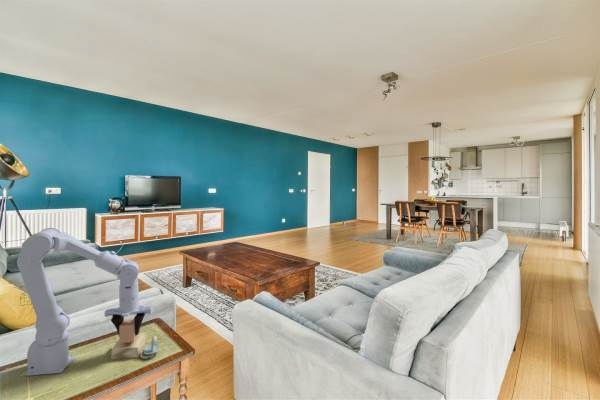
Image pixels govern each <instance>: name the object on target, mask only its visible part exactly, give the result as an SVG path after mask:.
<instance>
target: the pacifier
mask: <svg viewBox="0 0 600 400" xmlns="http://www.w3.org/2000/svg"><path fill="white" fill-rule="evenodd" d="M144 347H145V348H143V349H142V351H141V352H140V354H139V357H140V358H141V359H144V360H147V359H150V358H151V357H154V356H155V355H156V354H158V353H159V352H160V350H159V349H160V343H159V342H158V338H157V335H153V336H152V338H151V342H149V343H148V344H146V346H144Z"/></svg>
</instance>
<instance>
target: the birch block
mask: <svg viewBox="0 0 600 400" xmlns="http://www.w3.org/2000/svg"><path fill="white" fill-rule="evenodd" d="M145 345H146V334H138V336H137V338H136V340H135V341H134V342H126V343H119V339H118V340H117V341H116V343H115V344H114V346H113V347H112V348H111V360H120V359H133V358H138V357H140V353H141V351H142V350H144V347H145Z"/></svg>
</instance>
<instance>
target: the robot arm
mask: <svg viewBox="0 0 600 400" xmlns="http://www.w3.org/2000/svg"><path fill="white" fill-rule="evenodd" d="M51 250H53V253H57V252H65V251H68V252H71V253H74V255H75V254H76V255H79V256H81V257H84V258H86V259H89V260H91V261H92V262H94V264H95V267H97V268H99V269H101V270H103V271H104V272H108V273H109V274H111V275H115V276H117V278H118V280H119V285H118V286H119V287H118V288H119V289H118V290H119V292H118V293H119V295H118V296H119V298H118V299H119V300H118V301H119V305H118V307H113V308H106V309H105V310H104V318H107V317H109V316H110V317H111V319H110V322H111V323H112V324H113V325H114V327H115V328H116V331H117V334H118V335H119V326H120V325H121V323H122V322H123V321H124V320H125V317H128V316H131V315H135V316H134V317H133V319H134V322H135V335H139V334H140V330H141V325H142V323H143V320H144V317H146V314H147V315H151V314H152V313H153V306H148V305H147V306H146V305H139V301H140V300H139V296H140V295H139V269H140V266H139V264H138V263H137V262H136V261H135V260H132V259H129V258H124V257H121V256H119V255H118V254H116V252H115V251H113V250H111V251H109V250H104V251H100V250H98V249H96V248H95V247H93V246H91V245H88V244H86V243H85V242H83V241H81V240H79V239H78V238H75V237H74V236H72V235H70V234H68V232H65V231H61V230H59V229H57V228H54V227H47V228H46V227H45V228H44V229H42V230H40V231H38V232H36V233H33V234H31V235H30V236H28V237H27V238H26V239H25V240H24V241H23V242H22V243H21V250H20V253H19V255H18V257H17V260H16V265H17V268H18V270H19V272H20V277H21V278H22V280H23V283H24V285H25V289H26V291H27V294H28V296H29V299H30V302H31V305H32V307H33V310H34V313H35V315H36V318H35V324H34V325H35V326H34V327H35V330H36V331H35V332H36V333H35V340H34V341H33V342H31V344H30V345H29V346H28V350H27V354H26V356H27V357H26V359H27V360H26V362H27V365H26V366H27V372H26V374H25V376H28V377H29V376H38V375H51V374H60V373H62V372H63V371H64V370H66V368H67V367H68V366H69V365H70V364H71V362H72V361H73V360H74V359H75V358H76V356H75V355H70V352H69V350H70V346H69V332H68V330H67V328H68V326H69V325H70V321H71V319H70V316H69V315H68V314H66V313H65V312H64V310H63V308H62V307H60V306H59V305H58V303H57V301H56V297H55V295H54V292H53V290H52V289H53V288H52V286H51V284H50V281H49V278H48V275H47V273H46V270H45V268H44V264H43V260H44V259H45V257H46V256H47V255H48V254H49V252H50V251H51Z"/></svg>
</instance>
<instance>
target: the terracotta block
mask: <svg viewBox="0 0 600 400" xmlns="http://www.w3.org/2000/svg"><path fill="white" fill-rule="evenodd" d="M138 335H139V334H138ZM138 335H135V322H134V318H129V319H124V321H123V322H122V323H121V325H120V326H119V334H118V337H119V338H118V340H119V343H126V342H134V341H135V340H136V338H137V336H138Z"/></svg>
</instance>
